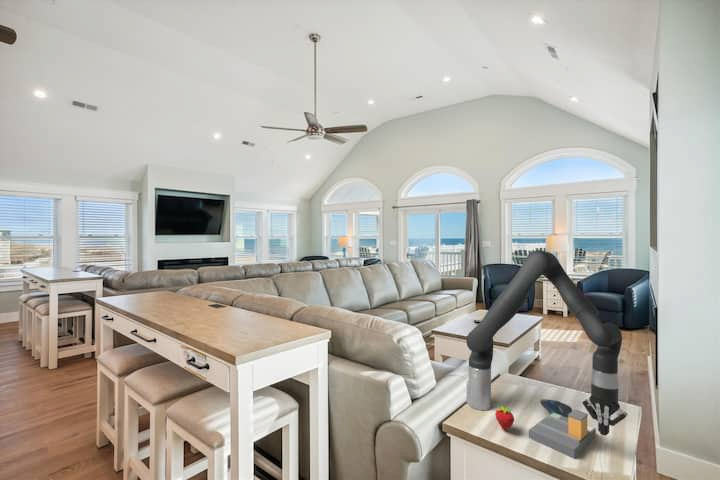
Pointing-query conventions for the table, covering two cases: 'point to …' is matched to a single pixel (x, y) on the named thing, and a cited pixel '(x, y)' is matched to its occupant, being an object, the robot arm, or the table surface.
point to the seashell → (556, 407)
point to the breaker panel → (560, 435)
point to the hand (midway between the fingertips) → (603, 434)
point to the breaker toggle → (577, 424)
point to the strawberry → (504, 418)
